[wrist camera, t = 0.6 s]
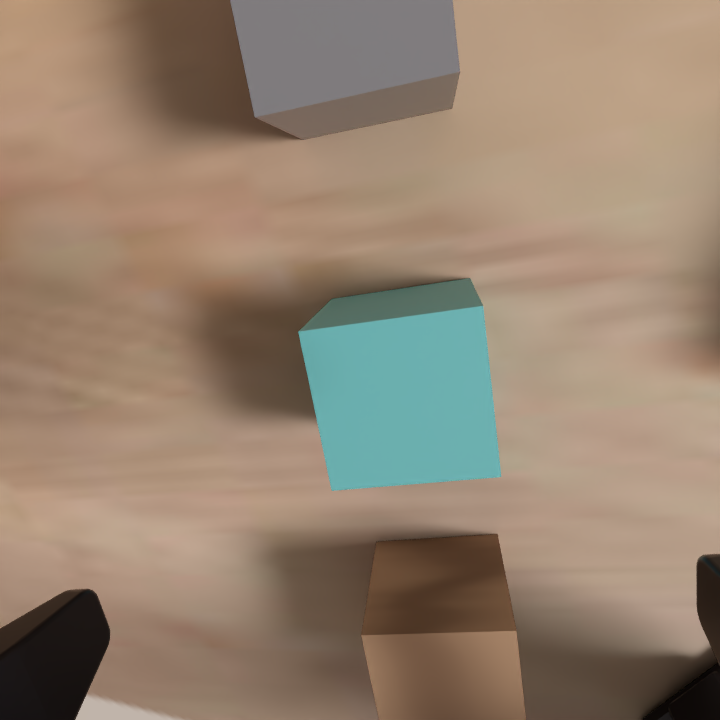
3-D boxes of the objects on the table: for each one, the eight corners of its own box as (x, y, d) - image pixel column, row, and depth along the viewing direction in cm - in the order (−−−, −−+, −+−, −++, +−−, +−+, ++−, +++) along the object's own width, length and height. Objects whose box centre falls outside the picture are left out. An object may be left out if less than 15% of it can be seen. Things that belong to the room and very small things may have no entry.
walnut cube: (497, 532, 21) (516, 630, 16) (508, 631, 22) (529, 748, 17) (376, 540, 22) (361, 635, 17) (394, 634, 23) (384, 747, 18)
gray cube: (431, -75, 15) (431, -201, 10) (451, 108, 16) (460, 72, 12) (271, -31, 16) (203, -128, 11) (303, 140, 17) (254, 117, 13)
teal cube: (469, 277, 18) (482, 305, 13) (484, 408, 19) (501, 477, 15) (332, 298, 19) (298, 331, 14) (355, 422, 20) (331, 490, 15)
